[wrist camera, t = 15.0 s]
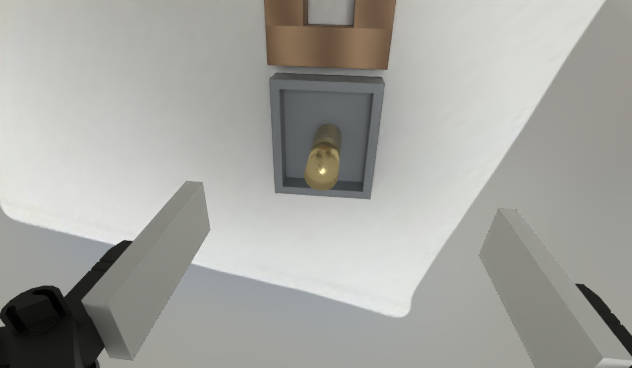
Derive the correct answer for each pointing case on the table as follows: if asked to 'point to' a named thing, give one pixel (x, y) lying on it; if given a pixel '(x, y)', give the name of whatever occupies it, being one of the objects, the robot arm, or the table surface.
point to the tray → (316, 110)
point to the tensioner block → (329, 36)
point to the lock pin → (324, 158)
